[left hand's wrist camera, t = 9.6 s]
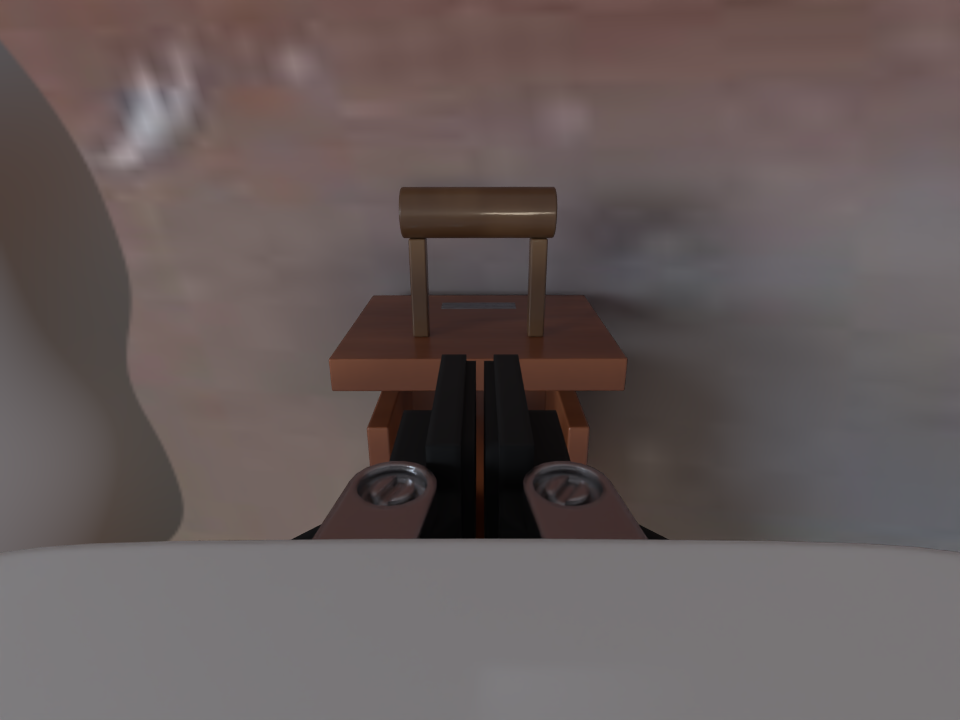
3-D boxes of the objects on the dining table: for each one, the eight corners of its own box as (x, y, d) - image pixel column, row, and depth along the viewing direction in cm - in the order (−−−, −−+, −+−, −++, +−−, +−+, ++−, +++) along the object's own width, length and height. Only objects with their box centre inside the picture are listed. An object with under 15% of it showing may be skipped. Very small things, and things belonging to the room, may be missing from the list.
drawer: (364, 177, 25) (310, 193, 17) (592, 177, 25) (645, 193, 17) (396, 612, 34) (371, 753, 26) (562, 611, 34) (587, 753, 26)
